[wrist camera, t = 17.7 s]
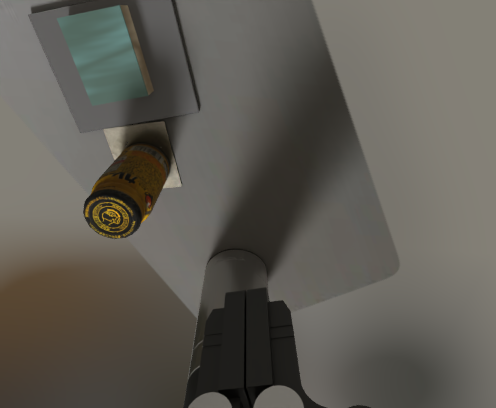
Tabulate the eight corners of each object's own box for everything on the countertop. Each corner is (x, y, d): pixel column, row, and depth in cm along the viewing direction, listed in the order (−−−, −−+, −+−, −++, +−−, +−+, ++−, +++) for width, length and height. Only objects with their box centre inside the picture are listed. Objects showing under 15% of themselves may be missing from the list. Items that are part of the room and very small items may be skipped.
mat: (199, 110, 37) (198, 112, 37) (82, 131, 39) (80, 133, 38) (168, -15, 31) (167, -15, 31) (31, 14, 33) (27, 14, 32)
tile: (56, 18, 30) (92, 106, 34) (119, 5, 30) (148, 95, 34) (68, 17, 32) (101, 100, 36) (127, 5, 32) (153, 90, 36)
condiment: (126, 192, 43) (88, 250, 32) (103, 128, 38) (51, 172, 28) (182, 185, 42) (161, 242, 32) (164, 120, 38) (134, 161, 28)
